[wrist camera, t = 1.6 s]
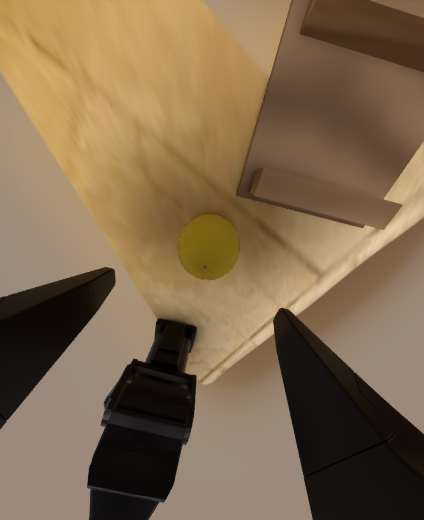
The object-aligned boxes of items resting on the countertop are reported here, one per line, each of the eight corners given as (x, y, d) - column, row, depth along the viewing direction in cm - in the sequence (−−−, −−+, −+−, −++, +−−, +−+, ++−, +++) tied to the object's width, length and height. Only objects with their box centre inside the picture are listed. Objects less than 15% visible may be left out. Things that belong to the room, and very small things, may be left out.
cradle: (355, 225, 17) (390, 238, 13) (236, 194, 16) (239, 199, 13) (478, 41, 11) (602, -25, 7) (296, -18, 10) (334, -120, 7)
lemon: (211, 262, 20) (203, 308, 13) (178, 230, 18) (149, 263, 11) (246, 234, 18) (260, 270, 11) (213, 195, 17) (205, 209, 9)
